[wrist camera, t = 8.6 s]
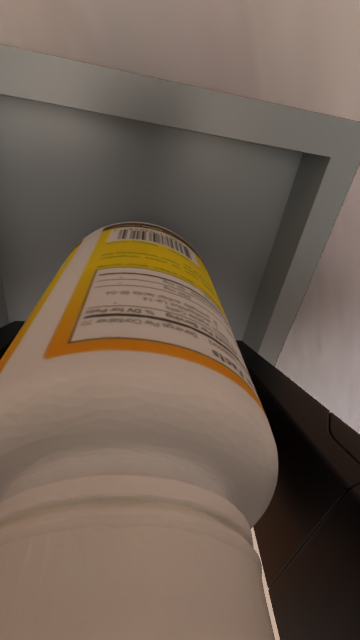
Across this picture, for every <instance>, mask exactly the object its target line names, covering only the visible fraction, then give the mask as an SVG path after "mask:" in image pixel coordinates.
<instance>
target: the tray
mask: <svg viewBox="0 0 360 640" xmlns="http://www.w3.org/2000/svg"><path fill="white" fill-rule="evenodd" d="M359 164H360V122H358V121H354V120H349V119H344V118H340V117H335V116H331V115H326V114H321V113H317V112H312V111H307V110H303V109H298V108H293V107H289V106H284V105H279V104H275V103H270V102H266V101H261V100H256V99H252V98H247V97H242V96H238V95H233V94H228V93H224V92H219V91H215V90H210V89H205V88H201V87H196V86H191V85H187V84H182V83H177V82H173V81H168V80H164V79H159V78H154V77H150V76H145V75H140V74H136V73H131V72H126V71H122V70H117V69H112V68H108V67H103V66H99V65H94V64H89V63H85V62H80V61H75V60H71V59H66V58H61V57H57V56H52V55H48V54H43V53H38V52H34V51H29V50H24V49H20V48H15V47H10V46H6V45H1V44H0V328H1V327H3V326H5V325H7V324H9V323H11V322H13V321H26V320H27V318H28V317H29V315H30V314H31V312H32V311H33V309H34V308H35V306H36V305H37V303H38V301H39V300H40V298H41V297H42V295H43V294H44V292H45V291H46V289H47V287H48V286H49V285H50V283H51V282H52V280H53V279H54V277H55V275H56V274H57V272H58V271H59V269H60V268H61V266H62V265H63V263H64V261H65V260H66V259H67V257H68V256H69V254H70V253H71V251H72V250H73V249H74V247H75V246H76V245H77V244H78V243H79V242H80V241H81V240H83V239H84V238H85V237H86V236H88V235H89V234H91V233H92V232H94V231H96V230H98V229H100V228H102V227H105V226H108V225H111V224H116V223H121V222H145V223H151V224H155V225H158V226H161V227H164V228H166V229H168V230H170V231H172V232H174V233H176V234H177V235H179V236H180V237H182V238H183V239H184V240H185V241H187V242H188V243H189V244H190V245H191V246H192V247H193V248H194V250H195V251H196V252H197V253H198V255H199V256H200V257H201V259H202V261H203V263H204V264H205V266H206V268H207V271H208V273H209V276H210V279H211V281H212V284H213V286H214V289H215V291H216V293H217V296H218V298H219V301H220V303H221V306H222V308H223V311H224V313H225V315H226V317H227V320H228V323H229V325H230V327H231V330H232V332H233V335H234V338H235V340H241V341H243V342H244V343H245V344H247V345H248V346H249V347H250V348H252V349H253V350H254V351H255V352H257V353H258V354H259V355H260V356H262V357H263V358H264V359H265V360H267V361H268V362H269V363H270V364H272V365H273V366H274V367H275V364H276V362H277V359H278V357H279V355H280V352H281V350H282V347H283V345H284V343H285V340H286V338H287V336H288V333H289V331H290V328H291V326H292V324H293V321H294V319H295V317H296V314H297V312H298V309H299V307H300V305H301V302H302V300H303V297H304V295H305V293H306V290H307V288H308V286H309V283H310V281H311V278H312V276H313V274H314V271H315V269H316V266H317V264H318V262H319V259H320V257H321V255H322V252H323V250H324V247H325V245H326V243H327V240H328V238H329V236H330V233H331V231H332V228H333V226H334V224H335V221H336V219H337V216H338V214H339V212H340V209H341V207H342V205H343V202H344V200H345V197H346V195H347V193H348V190H349V188H350V185H351V183H352V181H353V178H354V176H355V174H356V171H357V169H358V166H359Z"/></svg>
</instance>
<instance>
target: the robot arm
mask: <svg viewBox="0 0 360 640" xmlns="http://www.w3.org/2000/svg"><path fill="white" fill-rule="evenodd" d="M25 322H26V321H13V322H11V323H9V324H7V325H5V326H3V327H1V328H0V360H1V358H2V357H3V355H4V354H5V352H6V350H7V349H8V347H9V346H10V344H11V343H12V341H13V340H14V338H15V337H16V335H17V334H18V332H19V331H20V329H21V328H22V326H23V325H24V323H25ZM236 343H237V345H238V348H239V350H240V353H241V355H242V358H243V360H244V363H245V365H246V368H247V370H248V373H249V375H250V378H251V380H252V383H253V385H254V387H255V390H256V392H257V395H258V397H259V399H260V402H261V404H262V407H263V410H264V412H265V414H266V417H267V419H268V422H269V425H270V428H271V431H272V434H273V437H274V440H275V443H276V447H277V454H278V478H277V484H276V487H275V491H274V494H273V497H272V499H271V501H270V504H269V506H268V507H267V509H266V511H265V512H264V514H263V515H262V516H261V518H260V519H259V520H258V522H257V523H256V524H255V525H254V526H253V527H254V531H255V536H256V540H257V544H258V548H259V552H260V557H261V560H262V565H263V569H264V573H265V577H266V582H267V586H268V588H270V589H269V595H270V599H271V603H272V608H273V612H274V616H275V620H276V624H277V628H278V633H279V637H280V640H360V434H358V433H357V432H356V431H355V430H353V429H352V428H351V427H349V426H348V425H347V424H345V423H344V422H343V421H342V420H340V419H339V418H338V417H337V416H335V415H334V414H333V413H330V412H329V410H328V409H327V408H325V407H324V406H323V405H322V404H320V403H319V402H318V401H317V400H315V399H314V398H313V397H312V396H310V395H309V394H308V393H307V392H305V391H304V390H303V389H302V388H300V387H299V386H298V385H297V384H295V383H294V382H293V381H292V380H290V379H289V378H288V377H287V376H285V375H284V374H283V373H282V372H280V371H279V370H278V369H277V368H275V367H274V366H273V365H272V364H270V363H269V362H268V361H267V360H265V359H264V358H263V357H262V356H260V355H259V354H258V353H257V352H255V351H254V350H253V349H252V348H250V347H249V346H248V345H247V344H245V343H244V342H243V341H241V340H236Z"/></svg>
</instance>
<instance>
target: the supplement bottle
mask: <svg viewBox="0 0 360 640" xmlns="http://www.w3.org/2000/svg"><path fill="white" fill-rule="evenodd" d="M277 478H278V454H277V447H276V443H275V440H274V437H273V434H272V431H271V428H270V425H269V422H268V419H267V417H266V414H265V412H264V410H263V407H262V404H261V402H260V399H259V397H258V395H257V392H256V390H255V387H254V385H253V383H252V380H251V378H250V375H249V373H248V370H247V368H246V365H245V363H244V360H243V358H242V355H241V353H240V350H239V348H238V345H237V343H236V340H235V338H234V335H233V332H232V330H231V327H230V325H229V323H228V320H227V317H226V315H225V313H224V311H223V308H222V306H221V303H220V301H219V298H218V296H217V293H216V291H215V289H214V286H213V284H212V281H211V279H210V276H209V273H208V271H207V268H206V266H205V264H204V263H203V261H202V259H201V257H200V256H199V255H198V253H197V252H196V251H195V250H194V248H193V247H192V246H191V245H190V244H189V243H188V242H187V241H185V240H184V239H183V238H182V237H180V236H179V235H177V234H176V233H174V232H172V231H170V230H168V229H166V228H164V227H161V226H158V225H155V224H151V223H145V222H121V223H116V224H111V225H108V226H105V227H102V228H100V229H98V230H96V231H94V232H92V233H91V234H89V235H88V236H86V237H85V238H84V239H83V240H81V241H80V242H79V243H78V244H77V245H76V246H75V247H74V249H73V250H72V251H71V253H70V254H69V256H68V257H67V259H66V260H65V261H64V263H63V265H62V266H61V268H60V269H59V271H58V272H57V274H56V275H55V277H54V279H53V280H52V282H51V283H50V285H49V286H48V287H47V289H46V291H45V292H44V294H43V295H42V297H41V298H40V300H39V301H38V303H37V305H36V306H35V308H34V309H33V311H32V312H31V314H30V315H29V317H28V318H27V320H26V322H25V323H24V325H23V326H22V328H21V329H20V331H19V332H18V334H17V335H16V337H15V338H14V340H13V341H12V343H11V344H10V346H9V347H8V349H7V350H6V352H5V354H4V355H3V357H2V358H1V360H0V640H275V638H274V633H273V629H272V625H271V620H270V616H269V612H268V607H267V603H266V598H265V594H264V589H263V583H262V568H261V561H260V559H259V556H258V554H257V553H256V551H255V550H254V549H253V541H252V534H251V530H250V529H251V528H252V527H253V526H254V525H255V524H256V523H257V522H258V520H259V519H260V518H261V516H262V515H263V514H264V512H265V511H266V509H267V507H268V506H269V504H270V501H271V499H272V497H273V494H274V491H275V487H276V484H277Z"/></svg>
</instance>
